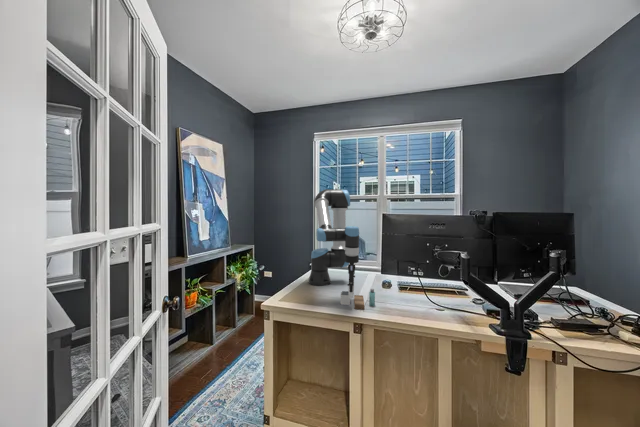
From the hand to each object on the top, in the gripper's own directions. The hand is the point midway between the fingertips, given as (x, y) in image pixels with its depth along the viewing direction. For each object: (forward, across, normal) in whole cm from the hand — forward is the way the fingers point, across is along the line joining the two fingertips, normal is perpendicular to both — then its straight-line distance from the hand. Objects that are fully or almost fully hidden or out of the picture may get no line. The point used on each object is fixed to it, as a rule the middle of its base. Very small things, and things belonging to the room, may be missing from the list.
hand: (351, 293), depth 147 cm
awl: (+6, +1, +11) cm, 13 cm away
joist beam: (+6, +1, +4) cm, 7 cm away
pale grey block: (+6, 0, -3) cm, 7 cm away
